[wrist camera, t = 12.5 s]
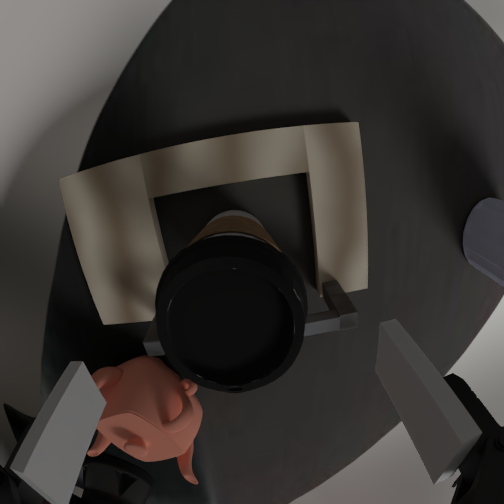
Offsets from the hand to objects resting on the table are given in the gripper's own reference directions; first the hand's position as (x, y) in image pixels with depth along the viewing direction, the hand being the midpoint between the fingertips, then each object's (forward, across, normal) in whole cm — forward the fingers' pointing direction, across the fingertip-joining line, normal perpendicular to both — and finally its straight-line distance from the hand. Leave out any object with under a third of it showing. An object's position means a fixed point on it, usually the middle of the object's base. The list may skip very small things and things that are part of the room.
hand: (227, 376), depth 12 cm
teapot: (+18, -14, -17) cm, 29 cm away
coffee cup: (+18, 0, 0) cm, 18 cm away
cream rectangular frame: (+17, -1, +2) cm, 18 cm away
